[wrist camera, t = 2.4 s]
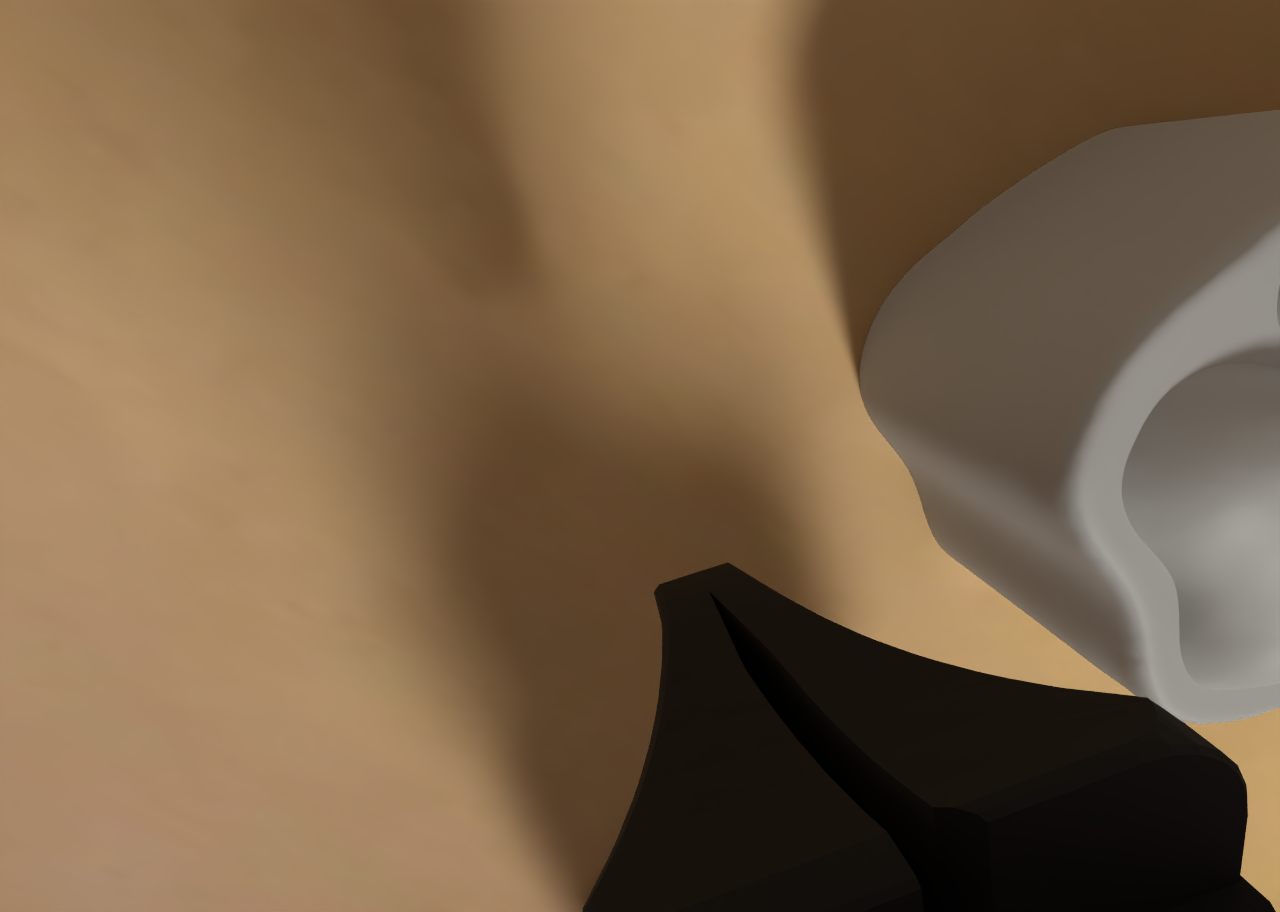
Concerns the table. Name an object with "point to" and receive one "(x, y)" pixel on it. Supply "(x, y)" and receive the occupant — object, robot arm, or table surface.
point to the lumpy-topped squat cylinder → (1110, 404)
